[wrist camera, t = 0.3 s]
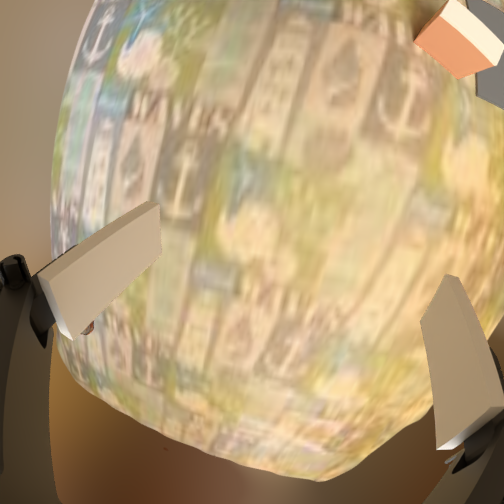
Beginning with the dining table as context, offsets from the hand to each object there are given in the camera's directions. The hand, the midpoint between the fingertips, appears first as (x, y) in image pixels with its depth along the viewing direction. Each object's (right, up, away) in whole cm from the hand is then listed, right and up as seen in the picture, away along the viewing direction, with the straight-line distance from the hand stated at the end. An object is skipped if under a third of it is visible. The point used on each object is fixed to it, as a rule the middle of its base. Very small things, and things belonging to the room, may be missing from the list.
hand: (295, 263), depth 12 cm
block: (+24, +28, +12) cm, 39 cm away
